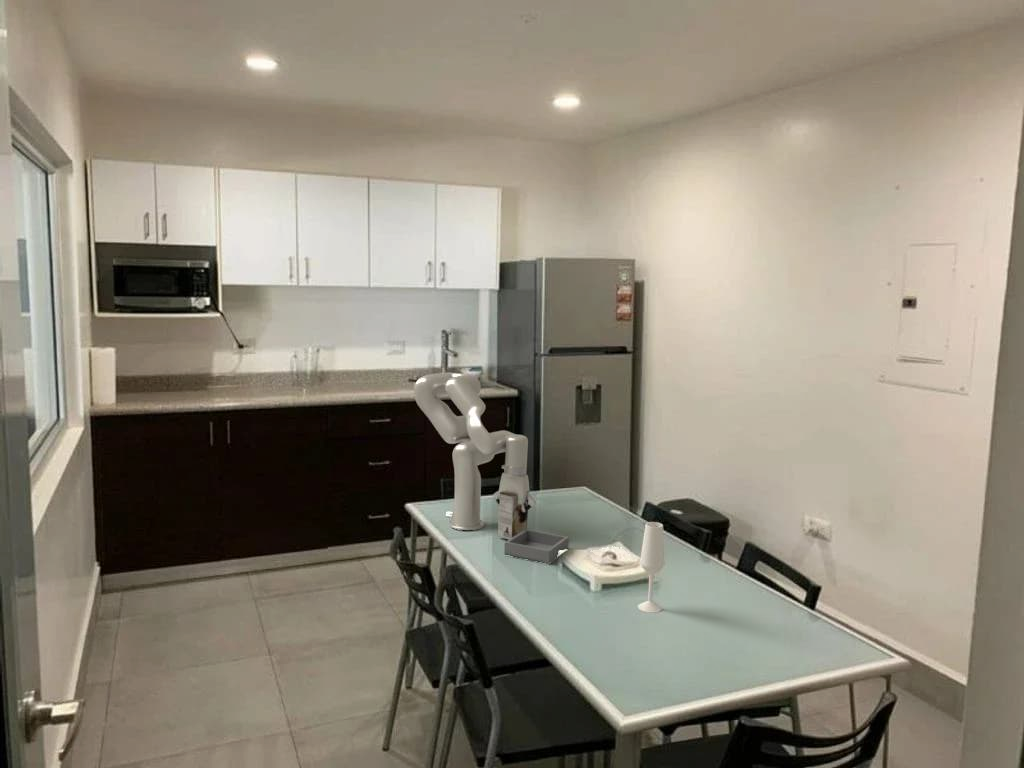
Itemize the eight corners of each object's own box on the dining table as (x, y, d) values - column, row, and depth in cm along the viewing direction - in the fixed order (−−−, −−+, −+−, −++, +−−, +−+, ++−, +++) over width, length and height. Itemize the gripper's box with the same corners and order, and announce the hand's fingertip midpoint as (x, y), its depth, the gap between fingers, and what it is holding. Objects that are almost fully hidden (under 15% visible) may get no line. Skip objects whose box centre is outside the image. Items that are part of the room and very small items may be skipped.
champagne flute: (644, 613, 212) (648, 529, 209) (633, 603, 218) (637, 521, 215) (666, 611, 214) (671, 527, 211) (655, 601, 220) (659, 520, 217)
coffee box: (512, 530, 277) (515, 486, 274) (527, 534, 273) (529, 490, 271) (497, 536, 270) (499, 491, 267) (511, 540, 266) (514, 495, 263)
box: (504, 555, 254) (504, 542, 253) (525, 541, 268) (526, 529, 267) (548, 564, 246) (549, 551, 246) (568, 549, 261) (568, 537, 260)
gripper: (488, 468, 268) (486, 518, 271) (533, 477, 261) (530, 527, 263) (498, 464, 275) (496, 512, 278) (542, 472, 267) (540, 521, 270)
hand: (513, 519), depth 270 cm, fingers closed on coffee box, 7 cm apart
